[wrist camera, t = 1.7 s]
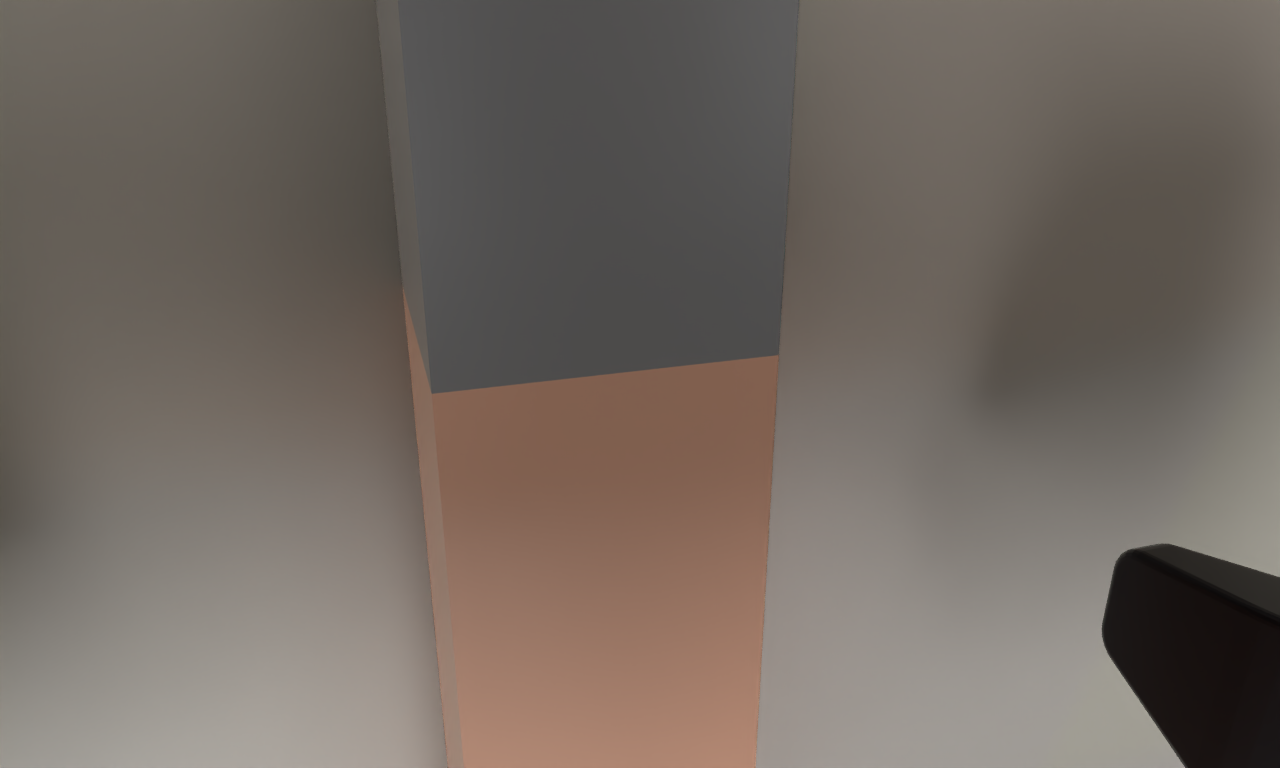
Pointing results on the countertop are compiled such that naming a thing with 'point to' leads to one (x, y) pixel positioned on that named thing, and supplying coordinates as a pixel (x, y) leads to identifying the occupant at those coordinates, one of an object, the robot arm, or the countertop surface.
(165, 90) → the countertop surface
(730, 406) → the two-tone eraser
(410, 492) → the countertop surface
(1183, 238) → the countertop surface
